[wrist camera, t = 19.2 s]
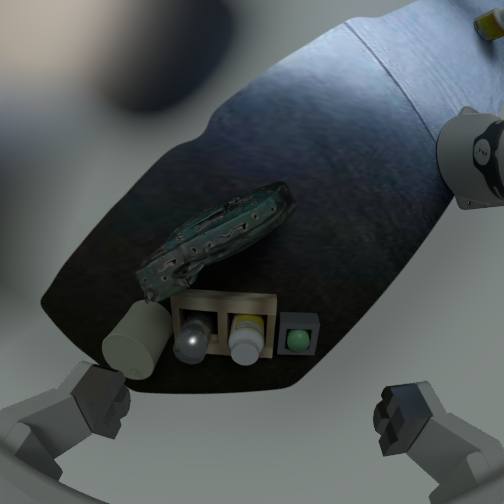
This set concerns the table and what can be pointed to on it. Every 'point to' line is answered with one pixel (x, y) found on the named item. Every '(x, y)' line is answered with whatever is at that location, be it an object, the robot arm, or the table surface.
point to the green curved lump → (213, 239)
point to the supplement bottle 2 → (491, 24)
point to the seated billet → (194, 336)
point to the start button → (297, 339)
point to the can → (138, 340)
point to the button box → (297, 322)
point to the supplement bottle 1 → (246, 338)
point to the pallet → (225, 314)
